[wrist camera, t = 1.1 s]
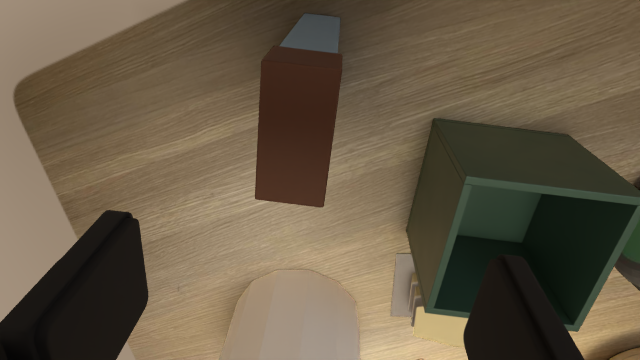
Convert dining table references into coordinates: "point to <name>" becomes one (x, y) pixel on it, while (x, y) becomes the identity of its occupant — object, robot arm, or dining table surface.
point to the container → (293, 320)
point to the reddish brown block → (296, 124)
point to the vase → (628, 355)
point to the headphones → (631, 258)
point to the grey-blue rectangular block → (314, 33)
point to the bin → (516, 216)
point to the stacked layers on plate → (422, 308)
